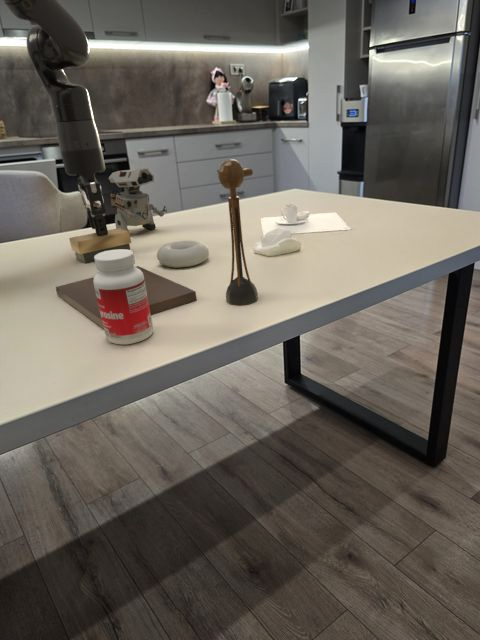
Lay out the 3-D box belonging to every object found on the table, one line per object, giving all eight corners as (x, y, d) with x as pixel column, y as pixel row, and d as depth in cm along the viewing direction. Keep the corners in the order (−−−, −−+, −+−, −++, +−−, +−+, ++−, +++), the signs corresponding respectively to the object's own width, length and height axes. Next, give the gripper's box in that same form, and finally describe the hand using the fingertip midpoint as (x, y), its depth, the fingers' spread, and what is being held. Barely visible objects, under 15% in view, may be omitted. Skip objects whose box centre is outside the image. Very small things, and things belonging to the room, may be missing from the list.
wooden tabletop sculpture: (248, 290, 77) (238, 155, 68) (268, 296, 74) (261, 156, 64) (220, 300, 73) (205, 160, 64) (240, 307, 70) (227, 161, 61)
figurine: (138, 240, 112) (126, 172, 105) (113, 234, 119) (100, 170, 113) (170, 232, 118) (160, 167, 111) (144, 226, 125) (133, 165, 118)
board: (104, 329, 66) (101, 319, 65) (57, 295, 80) (55, 286, 79) (196, 300, 74) (195, 291, 73) (139, 273, 88) (138, 265, 87)
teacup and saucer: (308, 217, 123) (308, 201, 121) (312, 224, 115) (312, 207, 114) (274, 220, 122) (273, 203, 121) (276, 227, 115) (275, 209, 114)
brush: (82, 264, 97) (77, 241, 94) (74, 259, 100) (69, 238, 98) (133, 252, 102) (129, 231, 100) (123, 248, 106) (119, 227, 104)
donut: (213, 254, 97) (164, 255, 98) (211, 237, 96) (162, 239, 97) (205, 269, 88) (152, 270, 89) (203, 251, 87) (149, 252, 88)
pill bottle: (97, 338, 63) (77, 257, 58) (135, 322, 67) (119, 245, 62) (125, 350, 60) (106, 264, 55) (163, 332, 64) (149, 250, 59)
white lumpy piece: (292, 235, 89) (244, 233, 92) (293, 258, 91) (245, 256, 94) (306, 222, 97) (261, 222, 100) (306, 244, 99) (262, 243, 102)
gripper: (106, 146, 87) (124, 235, 95) (95, 144, 99) (112, 223, 106) (63, 150, 85) (84, 241, 92) (57, 147, 96) (77, 228, 104)
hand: (99, 231), depth 99 cm, fingers open, 8 cm apart
